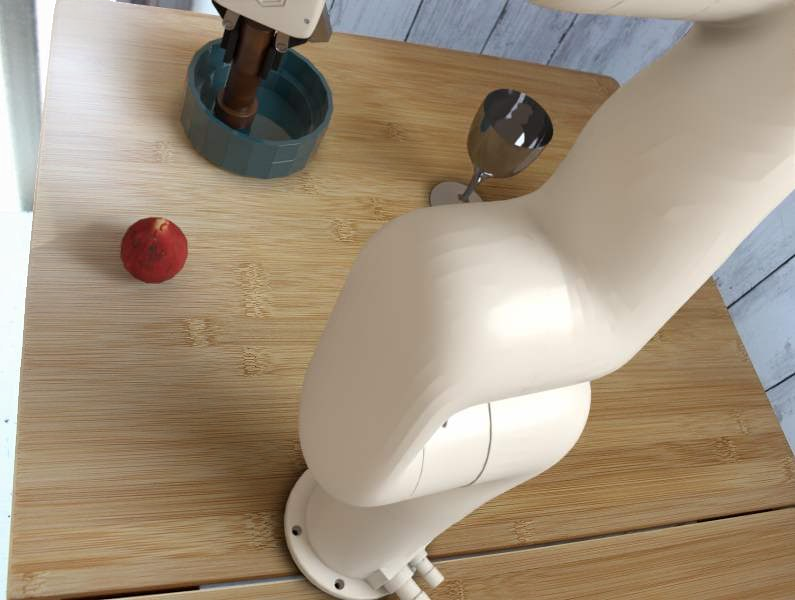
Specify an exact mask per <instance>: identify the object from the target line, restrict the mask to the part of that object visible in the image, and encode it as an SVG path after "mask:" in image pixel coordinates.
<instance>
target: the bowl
mask: <svg viewBox="0 0 795 600" xmlns="http://www.w3.org/2000/svg"><path fill="white" fill-rule="evenodd" d="M222 38H223V36H222V37H219V38H215V39H212V40H210V41H207V42H206V43H205V44H204V45H203V46H202V47H200V48H198V50H196V51H195V52H194V54H193V56H192V58H191V60H190V62H189V64H188V66H187V71H186V75H185V79H184V84H183V89H182V93H181V99H180V103H179V107H180V109H179V112H180V113H179V120H180V123H181V125H182V128H183V130H184V133H185V135H186V138H187V139H188V140H189V142H190V143H191V144H192V145H193V147H194V148H195V149H196V150H197V151H198V152H199V154H200V155H202V157H204V158H206V159H207V160H209V161H210V162H211V163H213V164H215V165H216V166H217V167H219V168H221V169H223V170H225V171H228V172H230V173H234V174H235V175H239V176H241V177H245V178H246V177H247V178H253V179H260V180H271V179H280V178H286V177H289V176H291V175H293V174H295V173H297V172H300V171H302V170H304V169H305V168H306V167H307V165H309V164H310V163H311V162H312V160H314V158H315V157H316V155H317V153H318V150H319V148H320V146H321V144H322V141H323V138H324V136H325V134H326V132H327V130H328V127H329V125H330V123H331V119H332V116H333V113H334V99H333V92H332V90H331V87H330V85H329V84H328V82H327V80H326V78H325V76H324V74H323V73H322V72H321V71H320V70H319V69H318V68H317V66H315V64H314V63H313V62H312V61H311V60H310V59H308V58H307V57H306V56H304V55H303V54H301V53H300V52H298V51H297V50H295V49H294V48H293V47H292V48H288V49H287V51H286V52H285V53H284V55H283V58H282V61H281V64H280V67H279V69H278V71H275V70H272V69H271V71H270V73H269V75H268V78H267V80H264V79H262V77H261V80H260V83H259V87H258V90H257V93H256V96H255V97H256V98H257V101H258V110H257V113H256V116H255V119H254V122H253V123H252V124H251V125H250V126H249V127H247V128H244V129H233V128H230V127H228V126H227V125H226V124H224V123H223V122H221V121H220V120H218V119H217V118H216V117H215V114H214V105H215V101H216V97H217V93H218V92H219V90H220V89H222V88H223V87H225V86H226V82H227V78H228V74H229V71H230V67H231V63H232V61H231V63H228V64H226V63H224V62H223V59H224V55H225V51H226V50H225V49H223V48H220V46H221V42H222Z"/></svg>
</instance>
